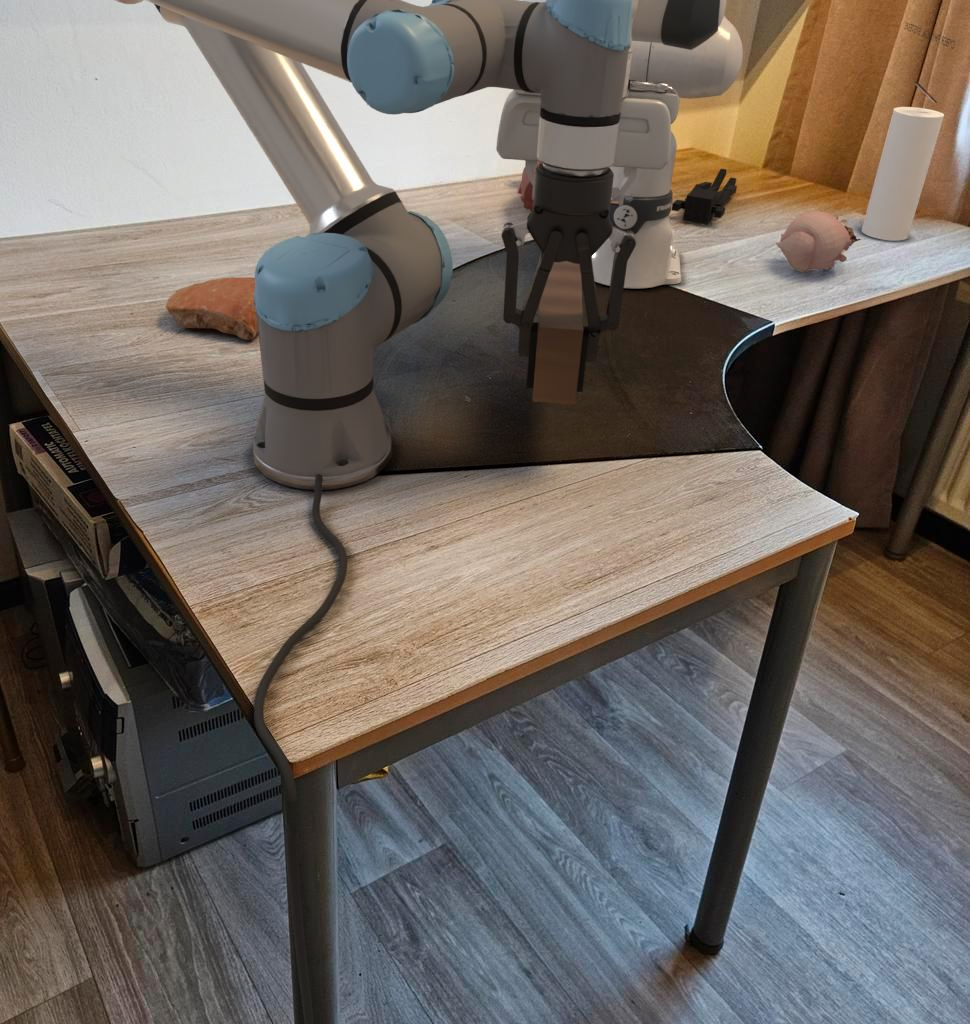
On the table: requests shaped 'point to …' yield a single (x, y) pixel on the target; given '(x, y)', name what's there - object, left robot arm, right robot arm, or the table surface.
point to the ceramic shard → (217, 306)
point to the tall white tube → (902, 168)
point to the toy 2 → (816, 241)
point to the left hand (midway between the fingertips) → (554, 384)
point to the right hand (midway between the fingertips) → (577, 201)
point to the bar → (559, 336)
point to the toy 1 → (706, 200)
